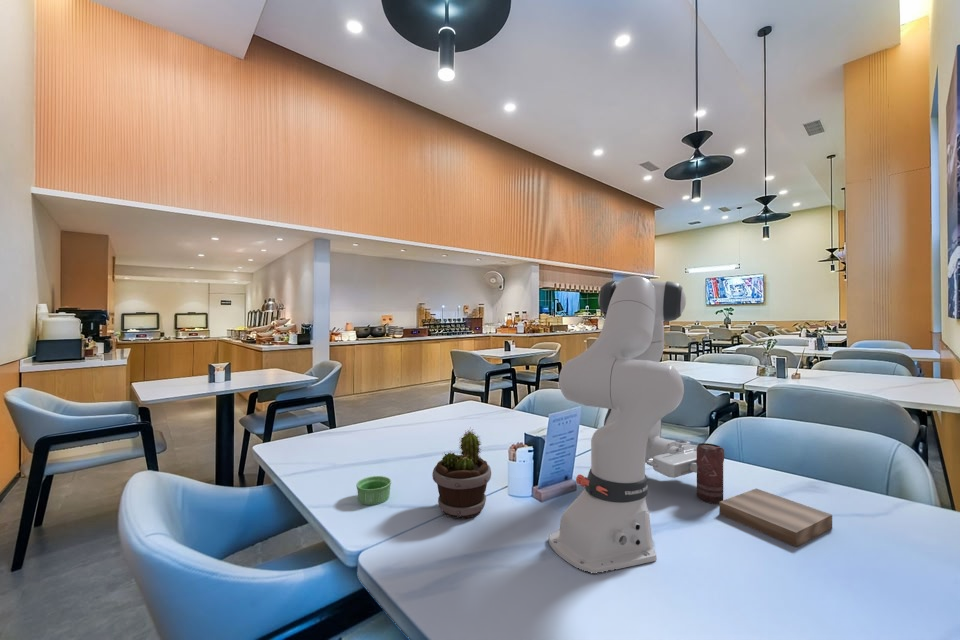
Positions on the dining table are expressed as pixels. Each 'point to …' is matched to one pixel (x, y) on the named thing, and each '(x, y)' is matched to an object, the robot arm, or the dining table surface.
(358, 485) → the ramekin
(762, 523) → the walnut base
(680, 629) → the dining table surface
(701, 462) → the can
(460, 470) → the flowerpot
